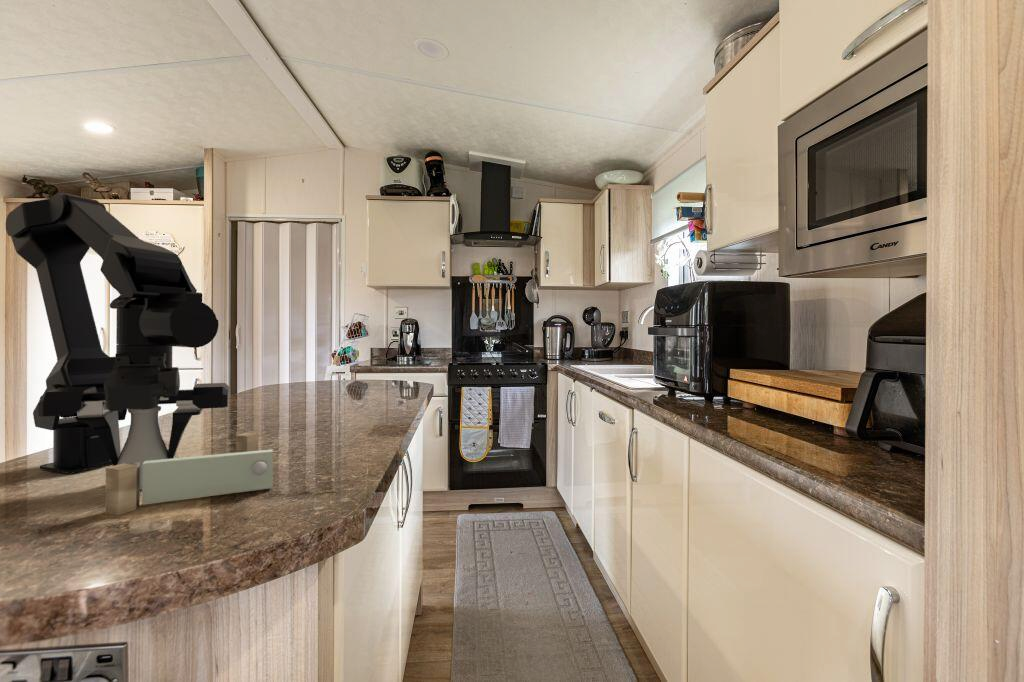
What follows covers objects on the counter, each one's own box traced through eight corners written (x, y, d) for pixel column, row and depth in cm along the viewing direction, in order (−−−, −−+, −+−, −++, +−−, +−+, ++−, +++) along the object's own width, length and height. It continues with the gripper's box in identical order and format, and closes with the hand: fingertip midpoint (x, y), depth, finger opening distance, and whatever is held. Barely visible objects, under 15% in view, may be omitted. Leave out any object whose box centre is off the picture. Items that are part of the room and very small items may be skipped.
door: (144, 500, 53) (144, 460, 53) (272, 485, 60) (272, 449, 60) (140, 507, 51) (140, 466, 51) (272, 490, 58) (273, 453, 58)
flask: (138, 495, 56) (139, 413, 56) (91, 489, 57) (92, 409, 57) (191, 476, 63) (192, 404, 63) (148, 472, 64) (149, 401, 64)
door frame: (105, 512, 50) (105, 467, 50) (247, 465, 69) (247, 432, 68) (118, 515, 50) (119, 469, 50) (257, 466, 68) (258, 433, 68)
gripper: (16, 347, 48) (16, 494, 48) (225, 348, 57) (224, 472, 58) (57, 343, 58) (56, 465, 58) (230, 344, 67) (229, 450, 67)
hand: (144, 463), depth 60 cm, fingers closed on flask, 5 cm apart
